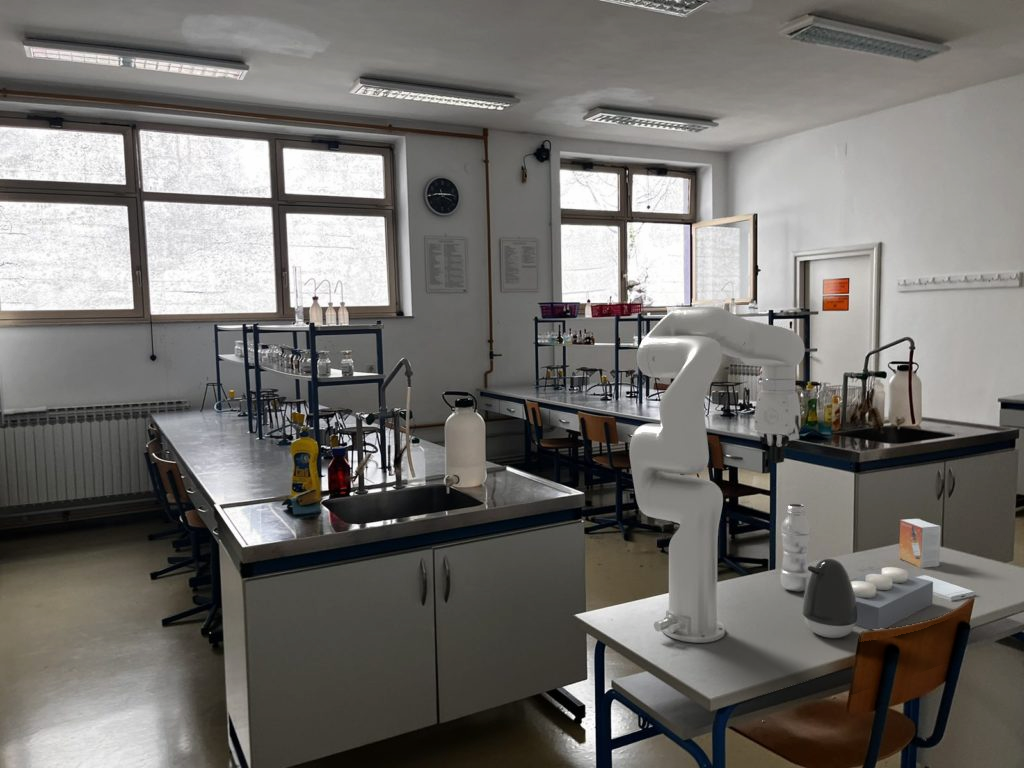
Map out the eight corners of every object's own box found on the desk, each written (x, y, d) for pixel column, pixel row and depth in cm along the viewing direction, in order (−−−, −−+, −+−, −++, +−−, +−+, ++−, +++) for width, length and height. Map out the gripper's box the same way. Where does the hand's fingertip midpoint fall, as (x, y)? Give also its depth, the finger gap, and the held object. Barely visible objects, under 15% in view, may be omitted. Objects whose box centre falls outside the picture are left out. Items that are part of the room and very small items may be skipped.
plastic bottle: (815, 594, 173) (816, 508, 171) (785, 594, 173) (786, 509, 172) (804, 585, 179) (806, 502, 178) (776, 585, 180) (777, 502, 178)
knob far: (900, 602, 164) (900, 576, 164) (876, 595, 168) (877, 570, 168) (911, 597, 168) (912, 571, 167) (888, 590, 172) (888, 565, 171)
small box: (898, 558, 198) (899, 519, 197) (917, 557, 199) (918, 517, 198) (920, 568, 190) (922, 527, 189) (940, 566, 191) (941, 525, 190)
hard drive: (902, 579, 179) (950, 596, 168) (926, 574, 182) (975, 590, 171) (902, 586, 179) (950, 603, 168) (926, 581, 183) (975, 597, 171)
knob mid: (884, 610, 160) (885, 583, 160) (860, 603, 164) (861, 577, 164) (896, 604, 163) (896, 578, 163) (872, 597, 167) (873, 572, 167)
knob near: (867, 618, 156) (868, 591, 155) (843, 611, 160) (844, 584, 160) (880, 612, 159) (880, 585, 159) (856, 605, 163) (856, 579, 163)
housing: (878, 632, 152) (878, 607, 151) (822, 614, 161) (822, 591, 161) (932, 603, 166) (933, 581, 166) (878, 589, 176) (878, 568, 175)
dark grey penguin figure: (790, 627, 155) (791, 554, 154) (831, 620, 158) (832, 549, 157) (826, 647, 145) (827, 569, 144) (868, 639, 149) (870, 563, 147)
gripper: (742, 385, 184) (741, 459, 185) (797, 388, 172) (796, 468, 173) (760, 383, 188) (760, 456, 190) (816, 386, 176) (814, 464, 178)
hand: (777, 461), depth 182 cm, fingers closed
